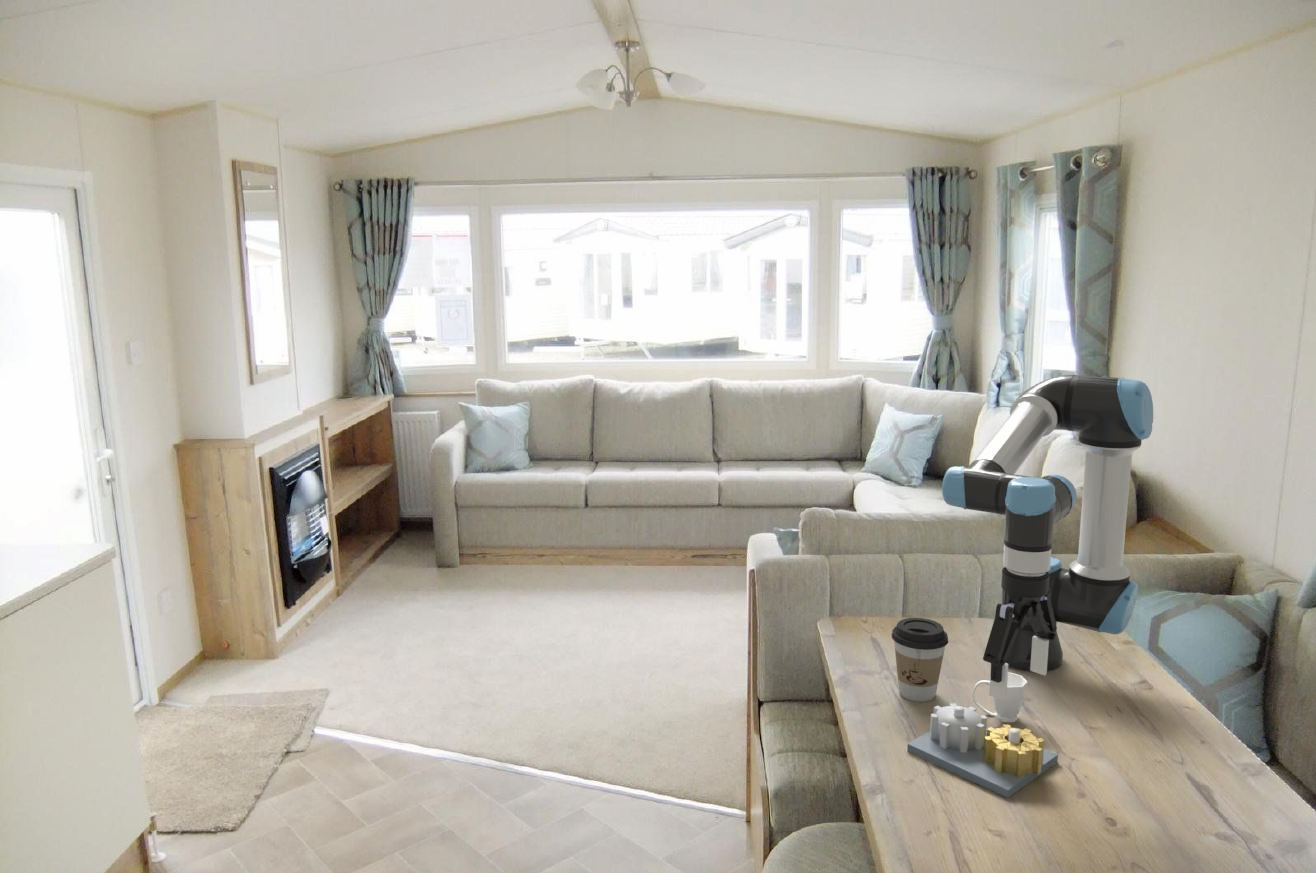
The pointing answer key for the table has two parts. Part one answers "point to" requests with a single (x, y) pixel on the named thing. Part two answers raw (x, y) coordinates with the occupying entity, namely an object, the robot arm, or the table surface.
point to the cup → (1007, 698)
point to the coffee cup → (919, 657)
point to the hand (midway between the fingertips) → (1018, 684)
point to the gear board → (969, 749)
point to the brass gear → (1013, 752)
